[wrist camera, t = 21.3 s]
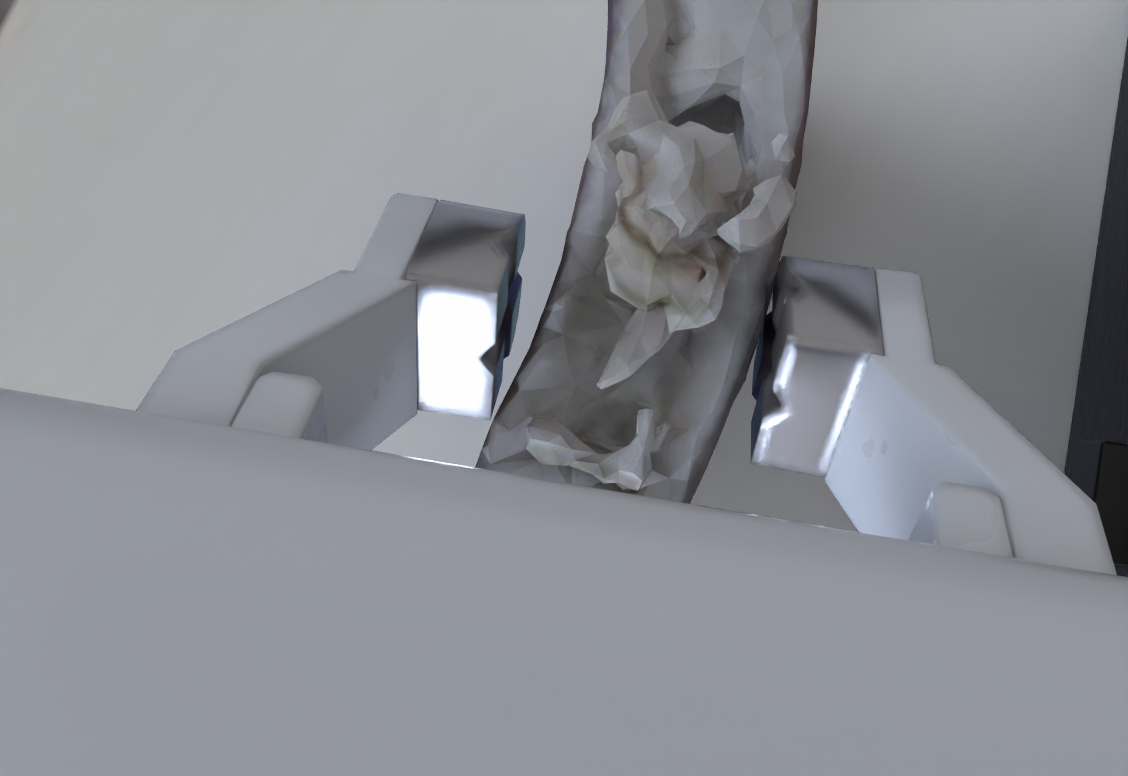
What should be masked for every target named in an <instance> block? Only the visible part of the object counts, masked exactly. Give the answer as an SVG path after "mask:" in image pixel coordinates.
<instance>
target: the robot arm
mask: <svg viewBox="0 0 1128 776" xmlns="http://www.w3.org/2000/svg"><path fill="white" fill-rule="evenodd" d="M525 223H526V222H525V215H524V214H519V213H513V212H507V211H502V210H496V209H490V208H484V207H479V206H473V205H467V204H462V203H456V202H450V201H445V200H440V201H438V200H437V199H434V198H428V197H421V196H414V195H407V194H401V193H397V194H395V195H394V196H392V197H391V198H390V200H389V202H388V204H387V206H386V208H385V210H384V212H383V214H382V216H381V218H380V220H379V222H378V224H377V226H376V228H375V230H374V232H373V234H372V236H371V238H370V240H369V242H368V244H367V246H366V248H365V250H364V252H363V254H362V256H361V258H360V260H359V262H358V264H357V266H356V268H355V270H354V272H352V271H346V270H341V271H338V272H336V273H334V274H332V275H330V276H328V277H326V278H324V279H322V280H320V281H318V282H316V283H314V284H312V285H310V286H308V287H306V288H304V289H301V290H299V291H297V292H295V293H293V294H291V295H289V296H287V297H285V298H283V299H281V300H279V301H277V302H275V303H273V304H271V305H269V306H267V307H265V308H262V309H260V310H258V311H256V312H254V313H252V314H250V315H248V316H246V317H244V318H242V319H240V320H238V321H236V322H234V323H232V324H230V325H228V326H226V327H223V328H221V329H219V330H217V331H215V332H213V333H211V334H209V335H207V336H205V337H203V338H201V339H199V340H197V341H195V342H193V343H191V344H189V345H187V346H184V347H182V348H180V349H178V350H176V351H174V353H173V354H172V356H171V358H170V359H169V361H168V362H167V364H166V365H165V367H164V368H163V370H162V371H161V373H160V374H159V376H158V377H157V379H156V381H155V382H154V384H153V385H152V387H151V388H150V390H149V391H148V393H147V394H146V396H145V397H144V399H143V400H142V402H141V404H140V405H139V407H138V408H137V410H136V411H133V410H127V409H121V408H115V407H110V406H104V405H98V404H92V403H86V402H80V401H74V400H68V399H62V398H56V397H50V396H44V395H38V394H32V393H26V392H20V391H14V390H8V389H2V388H0V776H1128V577H1124V576H1118V575H1117V573H1116V570H1115V567H1114V563H1113V560H1112V556H1111V553H1110V549H1109V546H1108V543H1107V539H1106V536H1105V532H1104V529H1103V525H1102V522H1101V519H1100V515H1099V512H1098V508H1097V505H1096V503H1095V502H1094V501H1092V500H1091V499H1090V498H1089V497H1088V496H1087V495H1086V494H1085V493H1084V492H1083V491H1082V490H1081V489H1080V488H1079V487H1077V486H1076V485H1075V484H1074V483H1073V482H1072V481H1071V480H1070V479H1069V478H1068V477H1067V476H1066V475H1065V474H1064V473H1062V472H1061V471H1060V470H1059V469H1058V468H1057V467H1056V466H1055V465H1054V464H1053V463H1052V462H1051V461H1050V460H1049V459H1047V458H1046V457H1045V456H1044V455H1043V454H1042V453H1041V452H1040V451H1039V450H1038V449H1037V448H1036V447H1035V446H1034V445H1032V444H1031V443H1030V442H1029V441H1028V440H1027V439H1026V438H1025V437H1024V436H1023V435H1022V434H1021V433H1020V432H1019V431H1018V430H1016V429H1015V428H1014V427H1013V426H1012V425H1011V424H1010V423H1009V422H1008V421H1007V420H1006V419H1005V418H1004V417H1003V416H1001V415H1000V414H999V413H998V412H997V411H996V410H995V409H994V408H993V407H992V406H991V405H990V404H989V403H988V402H986V401H985V400H984V399H983V398H982V397H981V396H980V395H979V394H978V393H977V392H976V391H975V390H974V389H973V388H971V387H970V386H969V385H968V384H967V383H966V382H965V381H964V380H963V379H962V378H961V377H960V376H959V375H958V374H956V373H955V372H954V371H953V370H952V369H951V368H950V367H948V366H943V365H937V364H936V359H935V353H934V348H933V342H932V336H931V331H930V325H929V319H928V314H927V308H926V302H925V297H924V291H923V285H922V280H921V277H920V276H919V275H918V274H917V273H915V272H906V271H898V270H890V269H881V268H873V267H872V268H868V267H861V266H853V265H846V264H839V263H831V262H824V261H816V260H809V259H802V258H794V257H787V256H782V258H781V261H780V264H779V266H778V269H777V273H776V276H775V280H774V283H773V306H772V311H771V312H770V313H769V314H767V315H766V317H765V320H764V324H763V328H762V331H761V334H760V337H759V341H758V346H757V351H756V356H755V362H754V371H753V385H752V395H753V396H754V398H755V399H756V400H757V403H756V407H755V410H754V414H753V418H752V421H751V463H752V464H758V465H763V466H768V467H773V468H779V469H784V470H789V471H794V472H799V473H805V474H810V475H815V476H820V477H826V478H825V482H826V483H827V485H828V486H829V488H830V489H831V491H832V492H833V494H834V495H835V497H836V498H837V500H838V501H839V503H840V504H841V506H842V507H843V509H844V510H845V512H846V513H847V515H848V516H849V518H850V519H851V521H852V522H853V524H854V525H855V527H856V528H857V530H858V531H859V532H855V531H849V530H843V529H837V528H831V527H825V526H819V525H813V524H807V523H801V522H795V521H789V520H783V519H777V518H771V517H765V516H759V515H754V514H748V513H742V512H736V511H730V510H724V509H718V508H712V507H706V506H700V505H694V504H688V503H682V502H676V501H670V500H664V499H658V498H652V497H646V496H640V495H634V494H628V493H622V492H616V491H610V490H604V489H598V488H592V487H586V486H581V485H575V484H569V483H563V482H557V481H551V480H545V479H539V478H533V477H527V476H521V475H515V474H509V473H503V472H497V471H491V470H485V469H479V468H473V467H467V466H461V465H455V464H449V463H443V462H437V461H431V460H426V459H420V458H414V457H408V456H402V455H396V454H390V453H384V452H378V451H372V449H373V448H375V447H376V446H377V445H378V444H380V443H381V442H382V441H383V440H385V439H386V438H387V437H388V436H390V435H391V434H392V433H394V432H395V431H396V430H397V429H399V428H400V427H401V426H402V425H404V424H405V423H406V422H407V421H409V420H410V419H411V418H412V417H414V416H415V415H416V414H417V410H421V411H428V412H435V413H443V414H450V415H457V416H464V417H471V418H479V419H486V420H490V419H491V416H492V413H493V409H494V406H495V402H496V399H497V396H498V392H499V389H500V385H501V382H502V371H503V359H504V358H506V357H507V356H509V354H510V350H511V346H512V343H513V339H514V334H515V329H516V324H517V319H518V312H519V305H520V297H521V285H522V278H521V276H520V275H519V273H518V272H517V270H518V267H519V263H520V260H521V256H522V253H523V250H524V244H525Z"/></svg>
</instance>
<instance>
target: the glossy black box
mask: <svg viewBox="0 0 1128 776" xmlns="http://www.w3.org/2000/svg"><path fill="white" fill-rule="evenodd" d="M1064 474H1065V475H1066V476H1067V477H1068V478H1069V479H1070V480H1071V481H1072V482H1073V483H1074V484H1075V485H1076V486H1077V487H1079V488H1080V489H1081V490H1082V491H1083V492H1084V493H1085V494H1086V495H1087V496H1088V497H1089V498H1090V499H1091V500H1092V501H1094V502H1095V503H1096V505H1097V508H1098V512H1099V515H1100V519H1101V522H1102V525H1103V529H1104V532H1105V536H1106V539H1107V543H1108V546H1109V549H1110V553H1111V556H1112V560H1113V563H1114V567H1115V570H1116V573H1117V575H1118V576H1124V577H1128V39H1127V46H1126V53H1125V60H1124V67H1123V74H1122V81H1121V88H1120V95H1119V101H1118V108H1117V115H1116V122H1115V129H1114V136H1113V143H1112V150H1111V157H1110V163H1109V170H1108V177H1107V184H1106V191H1105V198H1104V205H1103V212H1102V218H1101V225H1100V232H1099V239H1098V246H1097V253H1096V260H1095V267H1094V274H1093V280H1092V287H1091V294H1090V301H1089V308H1088V315H1087V322H1086V329H1085V336H1084V342H1083V349H1082V356H1081V363H1080V370H1079V377H1078V384H1077V391H1076V398H1075V404H1074V411H1073V418H1072V425H1071V432H1070V439H1069V446H1068V453H1067V459H1066V466H1065V473H1064Z"/></svg>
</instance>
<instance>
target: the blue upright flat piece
mask: <svg viewBox="0 0 1128 776" xmlns="http://www.w3.org/2000/svg"><path fill="white" fill-rule="evenodd" d="M817 6H818V0H608V31H607V51H606V66H605V75H604V83H603V88H602V94H601V99H600V104H599V109H598V113H597V115H596V117H595V119H594V121H593V123H592V142H591V147H590V151H589V154H588V157H587V159H586V162H585V165H584V169H583V173H582V177H581V181H580V186H579V190H578V194H577V198H576V203H575V207H574V211H573V216H572V220H571V225H570V227H569V229H568V231H567V235H566V241H565V246H564V251H563V255H562V260H561V263H560V266H559V268H558V271H557V274H556V277H555V280H554V283H553V286H552V288H551V291H550V294H549V297H548V300H547V303H546V306H545V308H544V311H543V313H542V315H541V318H540V321H539V324H538V327H537V330H536V332H535V335H534V338H533V340H532V343H531V346H530V348H529V350H528V352H527V354H526V356H525V358H524V360H523V362H522V364H521V366H520V368H519V370H518V372H517V374H516V376H515V378H514V380H513V382H512V384H511V386H510V388H509V390H508V392H507V394H506V396H505V398H504V400H503V402H502V404H501V405H500V407H499V409H498V411H497V413H496V415H495V417H494V420H493V422H492V425H491V427H490V429H489V432H488V434H487V437H486V440H485V442H484V445H483V448H482V450H481V453H480V456H479V459H478V461H477V464H476V467H475V468H479V469H485V470H491V471H497V472H503V473H509V474H515V475H521V476H527V477H533V478H539V479H545V480H551V481H557V482H563V483H569V484H575V485H581V486H586V487H592V488H598V489H604V490H610V491H616V492H622V493H628V494H634V495H640V496H646V497H652V498H658V499H664V500H670V501H676V502H682V503H688V504H690V502H691V500H692V497H693V495H694V493H695V491H696V489H697V487H698V485H699V483H700V480H701V478H702V476H703V474H704V472H705V470H706V468H707V465H708V463H709V460H710V458H711V456H712V453H713V451H714V449H715V446H716V444H717V441H718V439H719V437H720V434H721V432H722V429H723V427H724V424H725V422H726V419H727V417H728V414H729V411H730V409H731V406H732V404H733V402H734V400H735V398H736V396H737V394H738V393H739V391H740V389H741V387H742V385H743V383H744V382H745V380H746V374H747V371H748V368H749V365H750V362H751V360H752V357H753V354H754V351H755V348H756V345H757V342H758V339H759V337H760V334H761V331H762V328H763V324H764V320H765V317H766V313H767V309H768V306H769V302H770V299H771V295H772V292H773V283H774V280H775V276H776V273H777V269H778V266H779V258H780V254H781V250H782V246H783V242H784V239H785V236H786V233H787V226H788V222H789V218H790V214H791V212H792V210H793V209H794V207H795V204H796V192H795V187H796V183H797V180H798V176H799V172H800V168H801V161H802V146H803V138H804V132H805V126H806V120H807V114H808V107H809V97H810V87H811V78H812V67H813V58H814V47H815V36H816V23H817Z"/></svg>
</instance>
